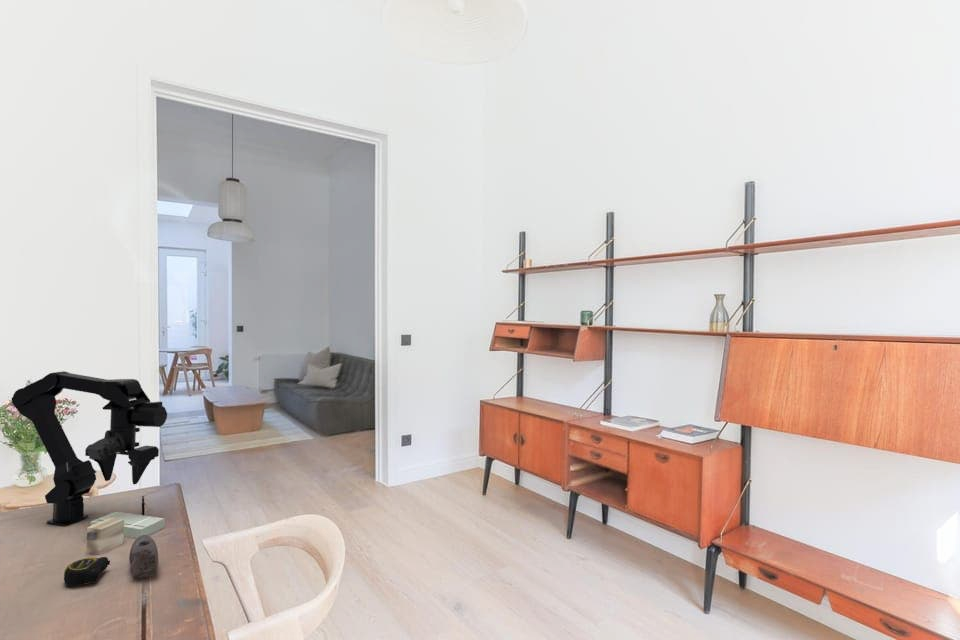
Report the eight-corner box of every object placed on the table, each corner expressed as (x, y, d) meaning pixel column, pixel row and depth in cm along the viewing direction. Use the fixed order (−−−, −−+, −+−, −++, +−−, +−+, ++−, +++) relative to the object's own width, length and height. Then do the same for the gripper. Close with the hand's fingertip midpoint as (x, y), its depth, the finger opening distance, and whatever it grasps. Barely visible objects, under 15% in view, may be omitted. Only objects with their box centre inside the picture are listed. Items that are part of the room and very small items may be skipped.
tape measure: (95, 587, 102) (96, 569, 102) (56, 591, 100) (57, 573, 100) (109, 571, 108) (110, 554, 108) (73, 574, 106) (73, 557, 106)
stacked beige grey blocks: (82, 554, 115) (83, 529, 115) (114, 539, 123) (114, 516, 123) (95, 556, 114) (96, 531, 114) (126, 541, 122) (127, 517, 122)
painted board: (90, 531, 127) (90, 521, 127) (115, 520, 134) (115, 511, 134) (140, 538, 124) (141, 528, 124) (164, 527, 130) (164, 518, 130)
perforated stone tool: (128, 557, 114) (129, 528, 114) (155, 552, 117) (156, 523, 117) (128, 587, 102) (129, 554, 102) (158, 580, 105) (159, 548, 105)
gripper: (65, 429, 127) (63, 488, 127) (124, 434, 123) (121, 496, 123) (106, 420, 138) (104, 475, 138) (161, 426, 134) (159, 482, 134)
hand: (121, 482), depth 133 cm, fingers open, 9 cm apart
